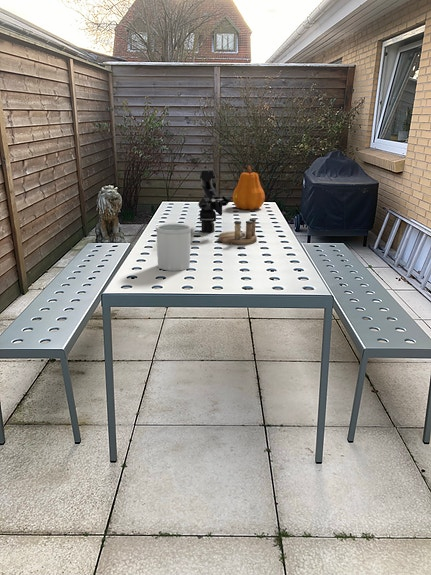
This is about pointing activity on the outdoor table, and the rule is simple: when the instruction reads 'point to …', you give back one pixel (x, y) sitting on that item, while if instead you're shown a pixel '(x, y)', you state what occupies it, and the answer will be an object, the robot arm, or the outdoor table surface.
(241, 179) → the decorative pumpkin
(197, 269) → the outdoor table surface
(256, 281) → the outdoor table surface
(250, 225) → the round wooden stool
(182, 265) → the utensil holder
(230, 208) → the outdoor table surface
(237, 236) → the hinged leg
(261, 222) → the outdoor table surface
